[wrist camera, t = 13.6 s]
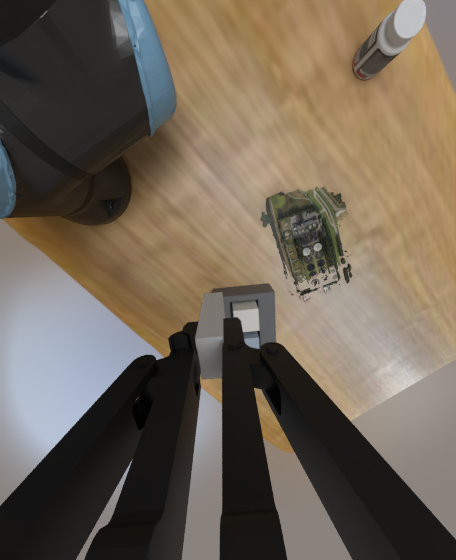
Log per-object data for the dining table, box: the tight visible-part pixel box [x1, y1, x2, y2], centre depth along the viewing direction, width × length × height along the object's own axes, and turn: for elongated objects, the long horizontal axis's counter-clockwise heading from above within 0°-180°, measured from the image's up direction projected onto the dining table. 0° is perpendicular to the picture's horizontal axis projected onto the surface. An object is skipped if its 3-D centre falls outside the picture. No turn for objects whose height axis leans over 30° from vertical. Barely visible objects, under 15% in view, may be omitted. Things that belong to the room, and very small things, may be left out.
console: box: [213, 284, 276, 348], centre depth 46 cm, size 12×22×5 cm, turn 5°
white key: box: [232, 300, 260, 332], centre depth 41 cm, size 5×5×4 cm
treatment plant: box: [261, 187, 352, 302], centre depth 42 cm, size 25×18×4 cm
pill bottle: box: [353, 0, 426, 80], centre depth 30 cm, size 5×5×8 cm
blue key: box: [243, 331, 260, 349], centre depth 44 cm, size 5×5×4 cm
